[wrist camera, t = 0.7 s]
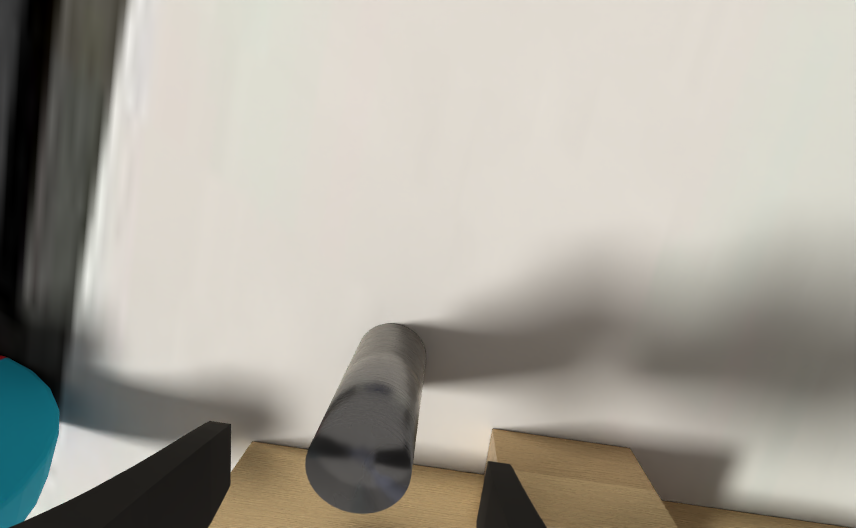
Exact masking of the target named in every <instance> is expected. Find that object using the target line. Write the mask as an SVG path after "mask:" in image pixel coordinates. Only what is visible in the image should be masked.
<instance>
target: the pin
mask: <svg viewBox="0 0 856 528" xmlns="http://www.w3.org/2000/svg"><path fill="white" fill-rule="evenodd" d="M425 363H426V351H425V347H424V344H423V342H422V341H421V339H420V338H419V336H418V335H417V334H416V333H415V332H413V331H412V330H410V329H409V328H407V327H405V326H402V325H398V324H382V325H379V326H376V327H374V328H372V329H371V330H369V331H368V332H367V333H366V334H365V335H364V336H363V338H362V340H361V342H360V344H359V346H358V348H357V350H356V352H355V354H354V356H353V358H352V360H351V362H350V364H349V366H348V368H347V371H346V373H345V375H344V377H343V379H342V381H341V383H340V385H339V387H338V389H337V391H336V393H335V395H334V397H333V399H332V401H331V404H330V406H329V408H328V410H327V412H326V414H325V416H324V418H323V420H322V422H321V424H320V426H319V428H318V430H317V432H316V435H315V437H314V439H313V441H312V443H311V445H310V447H309V449H308V451H307V455H306V460H305V469H306V474H307V478H308V480H309V482H310V485H311V486H312V488H313V489H314V491H315V492H316V493H317V494H318V495H319V496H320V497H321V498H322V499H323V500H324V501H326V502H327V503H328V504H330V505H332V506H333V507H335V508H338V509H340V510H343V511H346V512H350V513H357V514H369V513H375V512H379V511H382V510H385V509H387V508H389V507H391V506H392V505H394V504H395V503H397V502H398V501H399V500H400V499H401V498H402V497H403V495H404V494H405V492H406V491H407V489H408V487H409V484H410V480H411V474H412V466H413V458H414V450H415V442H416V434H417V426H418V418H419V410H420V402H421V394H422V386H423V379H424V371H425Z"/></svg>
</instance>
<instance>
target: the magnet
mask: <svg viewBox="0 0 856 528" xmlns="http://www.w3.org/2000/svg"><path fill="white" fill-rule="evenodd" d="M59 414H60V410H59V408H58V406H57V403H56V401H55V399H54V396H53V394H52V392H51V389H50V388H49V387H48V386H47V385H46V384H45V383H44V382H43V381H42V380H41V379H40V378H39V377H38V376H37V375H36V374H35V373H34V372H33V371H31V370H30V369H28V368H26V367H24V366H22V365H21V364H19V363H17V362H15V361H13V360H12V359H10V358H8V357H5V356H2V355H0V528H9V527H11V526H14V525H16V524H18V523H21V522H23V521H24V520H25V519H26V517H27V516H28V515H29V513H30V512H31V510H32V509H33V508H34V506H35V505H36V503H37V501H38V498H39V496H40V494H41V491H42V489H43V486H44V484H45V482H46V479H47V477H48V473H49V470H50V466H51V462H52V458H53V454H54V450H55V446H56V442H57V438H58V435H59Z"/></svg>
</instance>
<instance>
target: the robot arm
mask: <svg viewBox="0 0 856 528" xmlns="http://www.w3.org/2000/svg"><path fill="white" fill-rule="evenodd" d="M230 485H231V424H226V423H219V422H212V421H209V422H207V423H205V424H203V425H202V426H200V427H198V428H196V429H195V430H193V431H191V432H190V433H188V434H186V435H185V436H183V437H182V438H180V439H178V440H177V441H175V442H173V443H172V444H170V445H168V446H167V447H165V448H163V449H162V450H160V451H158V452H157V453H155V454H153V455H152V456H150V457H148V458H147V459H145V460H143V461H141V462H140V463H138V464H136V465H135V466H133V467H131V468H129V469H127V470H126V471H124V472H122V473H120V474H118V475H116V476H115V477H113V478H111V479H109V480H107V481H106V482H104V483H102V484H100V485H98V486H96V487H95V488H93V489H91V490H89V491H87V492H85V493H83V494H81V495H79V496H77V497H75V498H73V499H71V500H69V501H67V502H65V503H63V504H61V505H59V506H56V507H54V508H52V509H50V510H48V511H46V512H44V513H41V514H39V515H37V516H35V517H33V518H30V519H28V520H26V521H23V522H21V523H18V524H16V525H14V526H11V527H9V528H208V527H209V525H210V524H211V522H212V520H213V519H214V517H215V515H216V513H217V511H218V509H219V507H220V505H221V503H222V501H223V499H224V497H225V495H226V493H227V491H228V489H229V487H230ZM476 528H547V527H546V525H545V524H544V522H543V520H542V519H541V517H540V516H539V514H538V512H537V511H536V509H535V507H534V505H533V504H532V502H531V500H530V499H529V497H528V495H527V493H526V491H525V490H524V488H523V486H522V484H521V482H520V480H519V479H518V477H517V475H516V473H515V471H514V469H513V467H512V466H511V465H510V464H507V463H500V462H493V461H488V463H487V468H486V473H485V478H484V484H483V489H482V494H481V499H480V505H479V510H478V515H477V521H476Z"/></svg>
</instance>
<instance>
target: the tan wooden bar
mask: <svg viewBox="0 0 856 528" xmlns="http://www.w3.org/2000/svg"><path fill="white" fill-rule="evenodd" d="M307 451H308V449H301V448H294V447H287V446H280V445H273V444H267V443H260V442H253V441H252V443H251V444H250V446H249V447H248V448H247V450H246V451H245V453H244V454H243V456H242V457H241V459H240V460H239V461H238V463H237V464H236V466H235V467H234V469H233V470H232V472H231V485H230V487H229V489H228V491H227V493H226V495H225V497H224V499H223V501H222V503H221V505H220V507H219V509H218V511H217V513H216V515H215V517H214V519H213V520H212V522H211V524H210V525H209V527H208V528H476V521H477V515H478V510H479V505H480V499H481V494H482V489H483V484H484V478H485V473H486V468H487V463H488V461H493V462H500V463H507V464H510V465H511V466H512V467H513V469H514V471H515V473H516V475H517V477H518V479H519V480H520V482H521V484H522V486H523V488H524V490H525V491H526V493H527V495H528V497H529V499H530V500H531V502H532V504H533V505H534V507H535V509H536V511H537V512H538V514H539V516H540V517H541V519H542V520H543V522H544V524H545V525H546V527H547V528H848V527H841V526H834V525H827V524H820V523H813V522H806V521H800V520H793V519H786V518H779V517H772V516H765V515H758V514H751V513H744V512H737V511H730V510H723V509H716V508H710V507H703V506H696V505H689V504H682V503H675V502H668V501H661V499H660V498H659V496H658V494H657V493H656V491H655V489H654V488H653V486H652V484H651V483H650V481H649V479H648V478H647V476H646V474H645V473H644V471H643V469H642V468H641V466H640V464H639V463H638V461H637V459H636V458H635V456H634V454H633V453H632V451H631V449H630V448H624V447H617V446H610V445H603V444H596V443H589V442H582V441H575V440H568V439H561V438H554V437H547V436H540V435H533V434H526V433H519V432H512V431H505V430H498V429H492V434H491V439H490V445H489V450H488V455H487V461H486V466H485V471H484V475H481V474H474V473H467V472H460V471H453V470H446V469H440V468H433V467H426V466H419V465H413V466H412V474H411V480H410V484H409V487H408V489H407V491H406V492H405V494H404V495H403V497H402V498H401V499H400V500H399V501H398V502H397V503H395V504H394V505H392V506H391V507H389V508H387V509H385V510H382V511H379V512H375V513H369V514H357V513H350V512H346V511H343V510H340V509H338V508H335V507H333V506H332V505H330V504H328V503H327V502H326V501H324V500H323V499H322V498H321V497H320V496H319V495H318V494H317V493H316V492H315V491H314V489H313V488H312V486H311V485H310V482H309V480H308V478H307V474H306V469H305V460H306V455H307Z"/></svg>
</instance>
